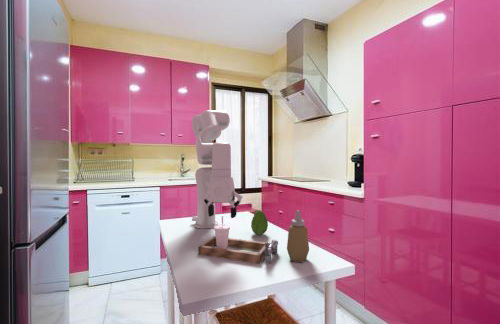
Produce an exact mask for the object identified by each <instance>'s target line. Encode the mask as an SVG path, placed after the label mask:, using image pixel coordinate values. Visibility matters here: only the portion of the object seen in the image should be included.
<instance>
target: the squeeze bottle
mask: <svg viewBox="0 0 500 324" xmlns="http://www.w3.org/2000/svg"><path fill="white" fill-rule="evenodd" d="M286 250H287V251H286V252H287V253H288V256H289V259H290V260H291V261H292V262H295V263H302V262H305V261H306V260H307V257H308V255H309V251H310V245H309V235H308V227H307V226H305V219H303V218H302V214H301V210H300V209H296V210H295V215H294V218H292V219H291V224H290V225H289V226H288V233H287V243H286Z"/></svg>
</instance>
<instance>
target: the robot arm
mask: <svg viewBox="0 0 500 324" xmlns="http://www.w3.org/2000/svg"><path fill="white" fill-rule="evenodd" d="M230 122H231V120H230V115H229V113H228V112H227V111H225V110H211V109H206V110H204V111H202V112H201V114H196V115H194V116H193V117H192V118H191V127H192V132H193V135H194V137H195V152H196V159H197V163H198V164H199V165H202V166H206V167H199V168H198V169H196V170H195V174H194V175H195V183H196V198H197V200H196V201H197V202H196V203H197V204H196V206H197V209H196V210H197V214H196V215H197V216H192V218H191V221H192V222H195V223H194V227H195V228H197V229H204V230H207V229H214V227H215V226H216V225H219V222H218V221H216V204H217V203H218V204H229V205H230V207H231V208H230V218H231V219H234V218H236V216H237V207H238V206H239V205H240V204H241V201H242V200H243V195H242V194H240V193H237V192H236V190H235V189H236V188H235V183H234V178H233V176H232V149H231V148H232V147H231V143H229V142H225V141H223V142H222V141H221V142H218V141H217V142H213V141H215V140H217V139H218V138H220V137H221V134H222V131H224V130H226V129H228V127H229V125H230ZM210 166H211V167H210ZM236 198H237V200H236ZM235 200H236V201H235Z"/></svg>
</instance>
